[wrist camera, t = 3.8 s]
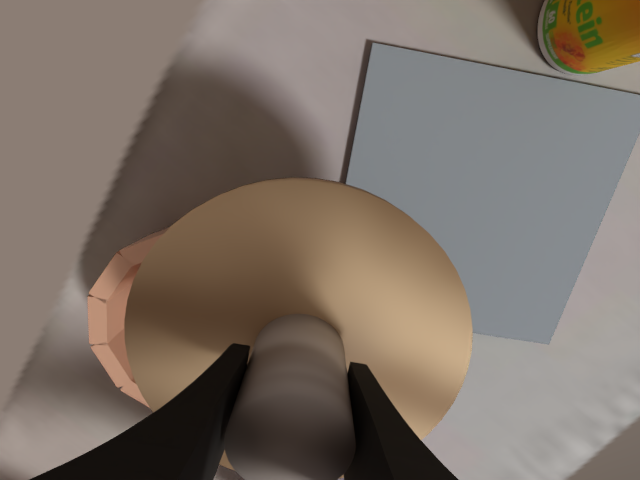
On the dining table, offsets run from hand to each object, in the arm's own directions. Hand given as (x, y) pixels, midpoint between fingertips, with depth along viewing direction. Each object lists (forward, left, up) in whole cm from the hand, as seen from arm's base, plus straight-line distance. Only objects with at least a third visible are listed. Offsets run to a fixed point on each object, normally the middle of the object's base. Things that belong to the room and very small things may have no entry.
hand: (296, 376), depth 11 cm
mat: (+6, -9, -10) cm, 15 cm away
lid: (0, 0, -2) cm, 2 cm away
